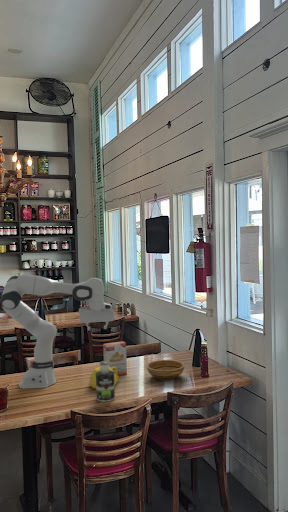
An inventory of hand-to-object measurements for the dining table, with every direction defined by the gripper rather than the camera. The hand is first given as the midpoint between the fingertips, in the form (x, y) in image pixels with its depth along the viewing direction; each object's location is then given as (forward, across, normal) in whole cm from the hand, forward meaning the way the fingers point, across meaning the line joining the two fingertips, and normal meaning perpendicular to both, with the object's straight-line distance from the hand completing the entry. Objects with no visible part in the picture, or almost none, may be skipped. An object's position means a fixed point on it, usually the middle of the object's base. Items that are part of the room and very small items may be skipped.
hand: (97, 329), depth 252 cm
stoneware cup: (+22, +2, -14) cm, 26 cm away
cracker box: (+36, +15, +26) cm, 46 cm away
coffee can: (+36, +2, -14) cm, 38 cm away
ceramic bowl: (+35, +44, +9) cm, 57 cm away
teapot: (+36, +6, +6) cm, 37 cm away
